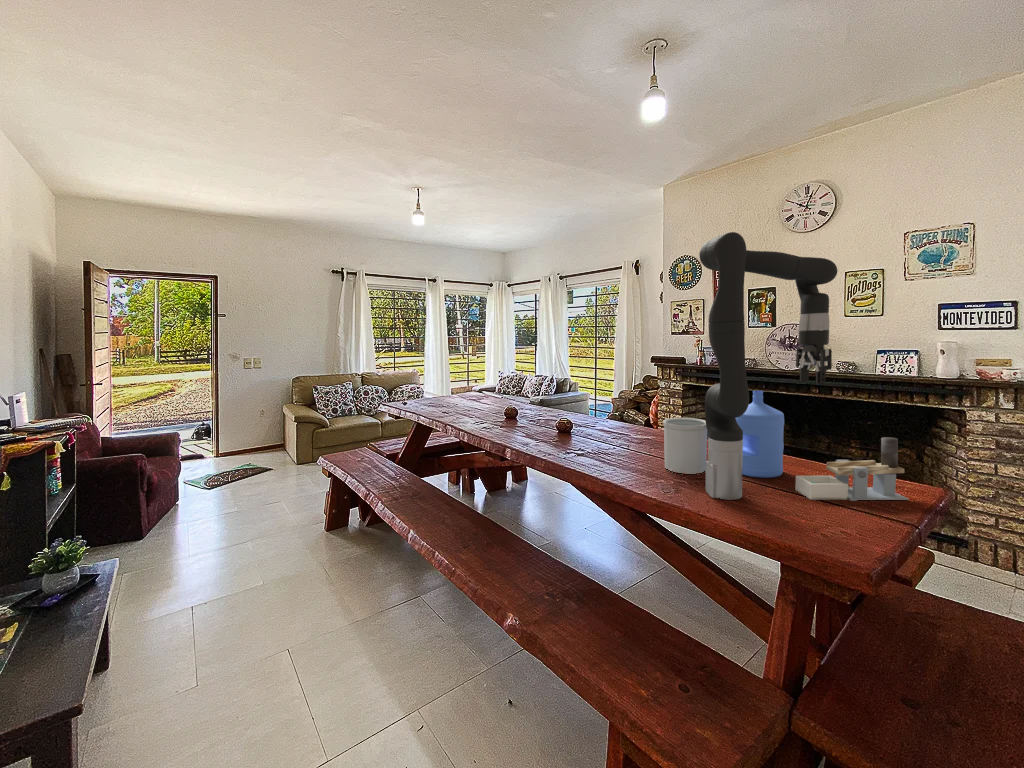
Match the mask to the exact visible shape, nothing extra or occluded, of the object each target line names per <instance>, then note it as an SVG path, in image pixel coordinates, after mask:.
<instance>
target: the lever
mask: <svg viewBox="0 0 1024 768" xmlns="http://www.w3.org/2000/svg"><path fill="white" fill-rule="evenodd" d="M880 441H881V442H880V443H881V444H880V455H881V456H880V458H881V459H880V462H879V463H878V462H876V460H874V459H871V460H849V461H842V462H836V461H826V463H825V464H826V466H825V467H826V468H825V469H826V470H827V471H829V472H831V473H833V474H834V475H835V474H837V475H839V476H842V475H849V476H853V469H854V467H866V468H868V475H873V474H892V473H895V474H905V468H903V467H901V466H899V464H898V462H899V444H898V443H899V439H898V438H897V437H889V436H887V437H886V436H883V437H881V438H880Z"/></svg>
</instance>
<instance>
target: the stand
mask: <svg viewBox="0 0 1024 768" xmlns="http://www.w3.org/2000/svg"><path fill="white" fill-rule="evenodd" d="M842 461H850V459H835V462H842ZM872 475H873V476H872V477H873V478H872V486H870V487H869V486H868V483H869V482H868V481H869V474H868V468H866V467H854V469H853V475H852V486H851V487H849V486H848V499H847V500H849V502H850V501H852V502H856V501H857V500H909V501H910V498H908V497H905V496H904V495H902V494H899V493H897V492H896V485H897V484H896V483H897V473H892V474H872ZM834 478H836V479H838V480H840V481H842V482H844V483H846V484H848V485H849V481H850V480H849V479H850V475H842V476H839V475H837V474H835V473H834ZM857 502H858V501H857Z"/></svg>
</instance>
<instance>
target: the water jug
mask: <svg viewBox="0 0 1024 768" xmlns="http://www.w3.org/2000/svg"><path fill="white" fill-rule="evenodd" d="M763 393H764V391H762V390H753V391H752V402H751V403H749V405H748V408H747V410H746V412H745V413H744V414H743V415H742V416H740V417H736V421H737V423H738V425H739V426H740V428H741V429H742V430H743V468H742V476H745V477H750V478H751V477H752V478H758V479H759V478H761V479H762V478H763V479H764V478H765V479H767V478H768V479H769V478H770V479H771V478H777V477H780V476H782V474H783V473H784V465H783V463H784V461H783V460H784V459H783V458H784V448H785V447H784V427H785V415H784V413H783V412H782V411H781V410H779V409H776V408H774V407H772V406H770V405H768V404H766V403H764V394H763Z"/></svg>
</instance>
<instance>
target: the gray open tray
mask: <svg viewBox="0 0 1024 768" xmlns="http://www.w3.org/2000/svg"><path fill="white" fill-rule="evenodd" d="M811 482H814V483H811ZM848 487H849V484H846V483H844V482H842V481H840V480H838V479H836V478H835V476H833V475H795V492H797V491H798V492H797V493H799V494H800V495H803V496H804V497H805V496H806V498H807V499H809V500H810V501H813V500H815V501H817V500H818V501H821V500H822V501H825V500H826V501H831V500H832V501H833V500H834V501H835V500H836V501H840V500H843V501H847V500H848Z"/></svg>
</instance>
